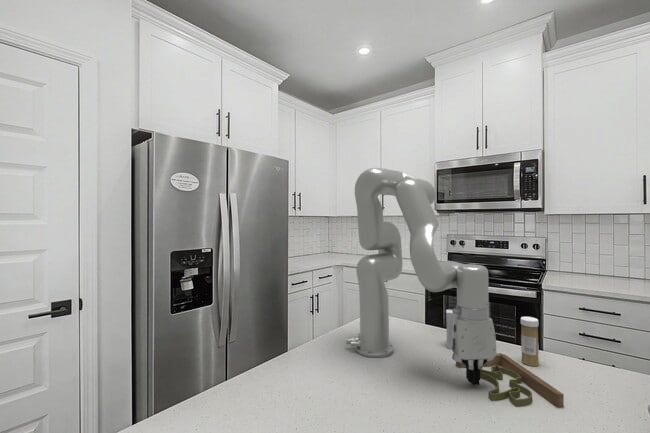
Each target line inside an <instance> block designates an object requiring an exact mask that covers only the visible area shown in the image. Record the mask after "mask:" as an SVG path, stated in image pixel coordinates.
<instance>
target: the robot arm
mask: <svg viewBox="0 0 650 433" xmlns="http://www.w3.org/2000/svg"><path fill="white" fill-rule="evenodd" d="M436 193H437V192H436V189H435V186H434V185H433V184H431V182H429V181H427V180H425V179H421V178H419V177H416V176H413V175H410V174H408V173H404V172H403V171H399V170H393V169H387V168H381V167H372V168H369V169H368V168H367V169H365V170H364V171H362V172H361V173H360V175H359V176H358V177H357V179H356V182H355V185H354V197H355V198H354V199H355V204H356V211H357V212H356V214H357V230H358V232H357V233H358V241H359V245H360V247H361V248H362V249H363V250H366V251H377V253H375V254H374V253H373V254H369V255H368V254H367V255H366V256H363V257H362V258H360V259H359V260H358V262H357V265H356V270H355V271H356V277H357V282H358V289H359V290H358V291H359V333H357V336H355V337H346V338H345V343H346V345H350V346H351V347H354V346H355V348H354V349H355V352H357V353H358V354H359V355H362V356H364V357H369V358H385V357H389V356H391V355H393V353H394V352H395V349H394V348H395V347H394V345H393V344H392V343H390V326H389V325H390V318H389V317H390V314H389V313H390V310H389V308H390V307H389V306H390V305H389V303H390V302H389V293H388V290H387V287H386V284H385V282H388V281H392V280H393V281H394V280H395V279H397V278H398V277H400V275H401V274H402V271H403V251H402V250H403V247H402V236H401V233H400V230H399V228H398V227H397V225H395V224H394V223H392V222H389V221H384V211H383V206H382V203H381V201H380V199H379V198H378V197H379V195H381V196H382V195H383V196H393V197H395V200H396V201H397V203H398V206H399V209H400V211H401V213H402V216H403V219H404V221H405V223H406V226H407V228H408V231H409V234H410V236H409V237H410V238H409V257H410V261H411V264H412V265H411V266H412V267H413V270H414V272H415V274H416V277H417V279H418V281H419V282H420V284H421V285H422V287H423V288H424V289H425V290H427V291H429V292H431V293H439V292H443V291H446V290H449V289H453V288H456V306H455V308H452V309H451V310H452V312H453V314H457V316H455V319H454V323H453V330H452V348H451V350H452V357H451V358H452V360H453V361H454V362H455V363H456V362H460V363H463V364H464V365H465V366H466V367H465V371H466V372H465V374H466V375H465V378H466V379H467V380H466V381H468V382H469V383H470V384H471V385H472V386H480V384H481V383H480V381H481V378H480V370H481V369H482V370H483V365H484V364H485V363H486V362H487V361H491V360H493V359H494V357H496V353H497V351H498V350H497V338H496V337H497V336H496V332H495V327H494V322H493V321H494V320H493V319H492V318H491V317H489V314H490V310H489V309H490V308H489V304H490V303H489V270H488V268H487V267H486V266H484V265H481V264H474V263H467V264H466V263H461V262H457V261H454V260H453V261H452V260H444V261H439V260H438V257H437V255H436V253H435V250H434V245H433V240H434V235H435V233H436V231H437V230H438V227H439V224H440V223H439V220H438V217H437V216H436V213H435V212H434V209H433V207H432V205H433V203H434V201H435V199H436V195H437V194H436Z"/></svg>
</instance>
